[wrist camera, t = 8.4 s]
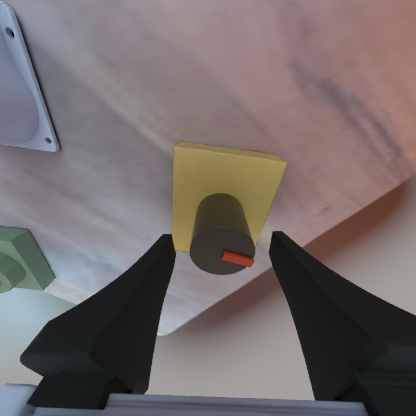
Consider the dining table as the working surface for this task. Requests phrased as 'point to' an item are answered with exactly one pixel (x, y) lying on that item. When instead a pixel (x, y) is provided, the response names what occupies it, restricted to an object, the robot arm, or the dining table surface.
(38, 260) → the green stepped block
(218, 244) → the dark brown rotary knob
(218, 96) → the dining table surface
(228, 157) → the plate
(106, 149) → the dining table surface
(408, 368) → the robot arm
